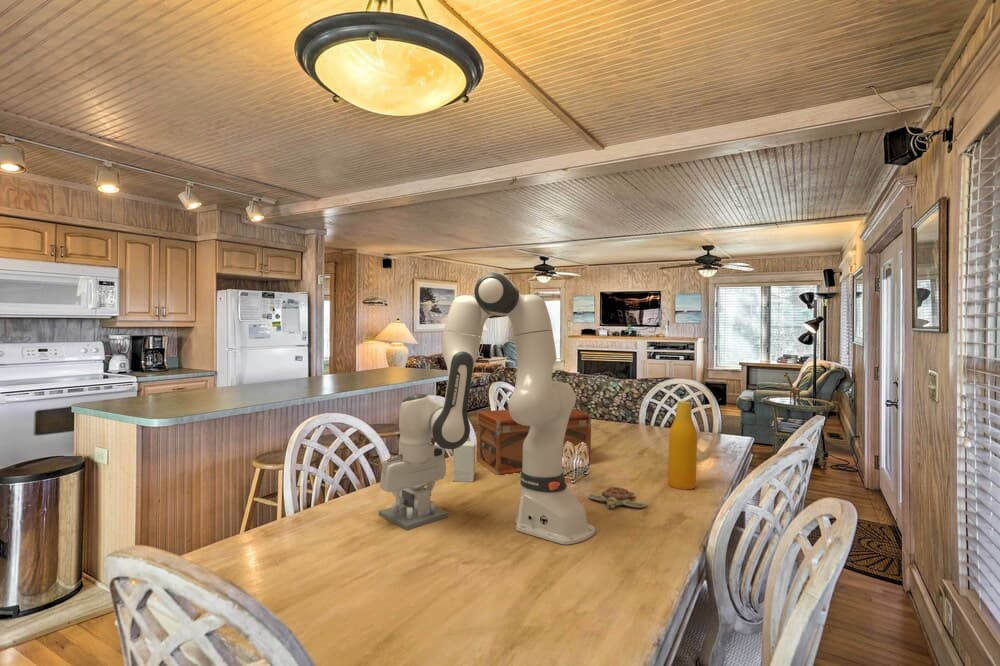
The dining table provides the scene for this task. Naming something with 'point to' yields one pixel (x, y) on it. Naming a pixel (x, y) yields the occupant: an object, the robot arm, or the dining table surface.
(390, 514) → the pin tray
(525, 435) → the wooden box
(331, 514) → the dining table surface
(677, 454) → the beer bottle
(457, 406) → the robot arm
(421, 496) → the block
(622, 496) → the decorative turtle
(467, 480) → the supplement box
